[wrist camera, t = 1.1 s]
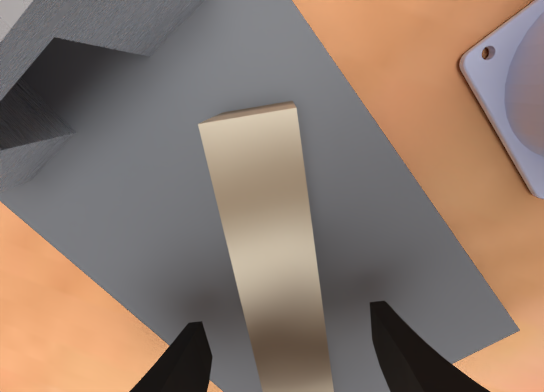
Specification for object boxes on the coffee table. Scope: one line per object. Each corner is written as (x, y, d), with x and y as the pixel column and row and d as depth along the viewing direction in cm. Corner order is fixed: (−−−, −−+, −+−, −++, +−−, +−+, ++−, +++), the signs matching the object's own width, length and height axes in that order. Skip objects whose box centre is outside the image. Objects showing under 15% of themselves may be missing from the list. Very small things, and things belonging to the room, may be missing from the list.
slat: (222, 112, 13) (197, 124, 9) (292, 100, 13) (296, 107, 9) (284, 406, 19) (285, 485, 15) (333, 402, 19) (345, 482, 15)
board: (144, -205, 10) (130, -233, 9) (507, 316, 17) (520, 330, 16) (-85, 104, 14) (-111, 106, 13) (286, 429, 21) (286, 445, 20)
